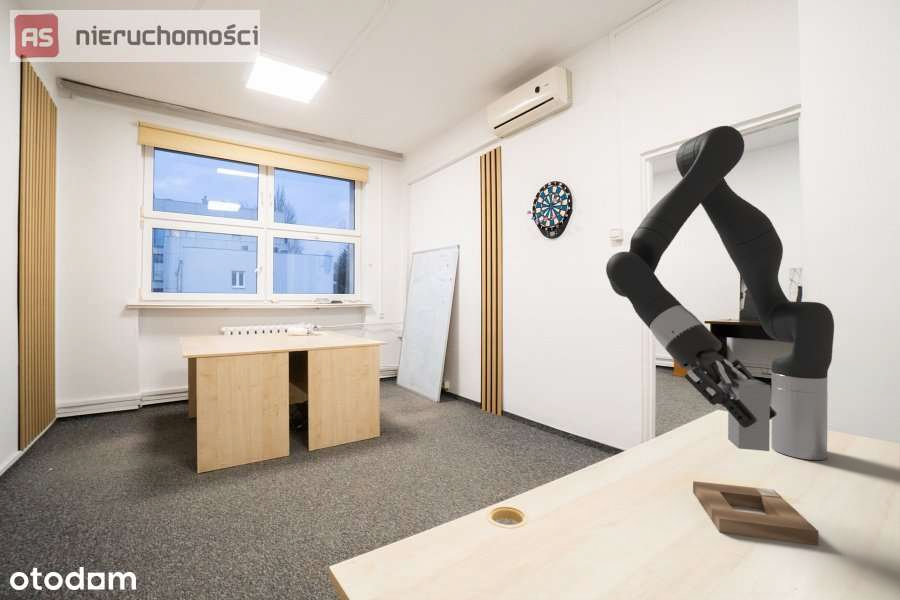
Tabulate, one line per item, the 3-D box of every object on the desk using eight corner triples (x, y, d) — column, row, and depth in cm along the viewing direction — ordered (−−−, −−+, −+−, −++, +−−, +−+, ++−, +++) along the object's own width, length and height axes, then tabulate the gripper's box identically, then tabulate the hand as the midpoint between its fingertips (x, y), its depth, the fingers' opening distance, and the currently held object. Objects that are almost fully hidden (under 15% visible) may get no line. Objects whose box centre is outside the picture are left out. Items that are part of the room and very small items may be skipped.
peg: (728, 439, 64) (728, 378, 64) (756, 441, 63) (757, 379, 63) (738, 448, 61) (739, 383, 60) (769, 451, 60) (769, 385, 59)
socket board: (693, 492, 70) (693, 480, 70) (773, 501, 66) (773, 489, 66) (719, 531, 58) (719, 517, 58) (818, 545, 55) (818, 530, 55)
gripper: (674, 324, 65) (759, 416, 55) (721, 321, 72) (804, 401, 62) (644, 352, 69) (717, 442, 59) (691, 346, 77) (763, 425, 66)
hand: (761, 421), depth 60 cm, fingers closed on peg, 5 cm apart
